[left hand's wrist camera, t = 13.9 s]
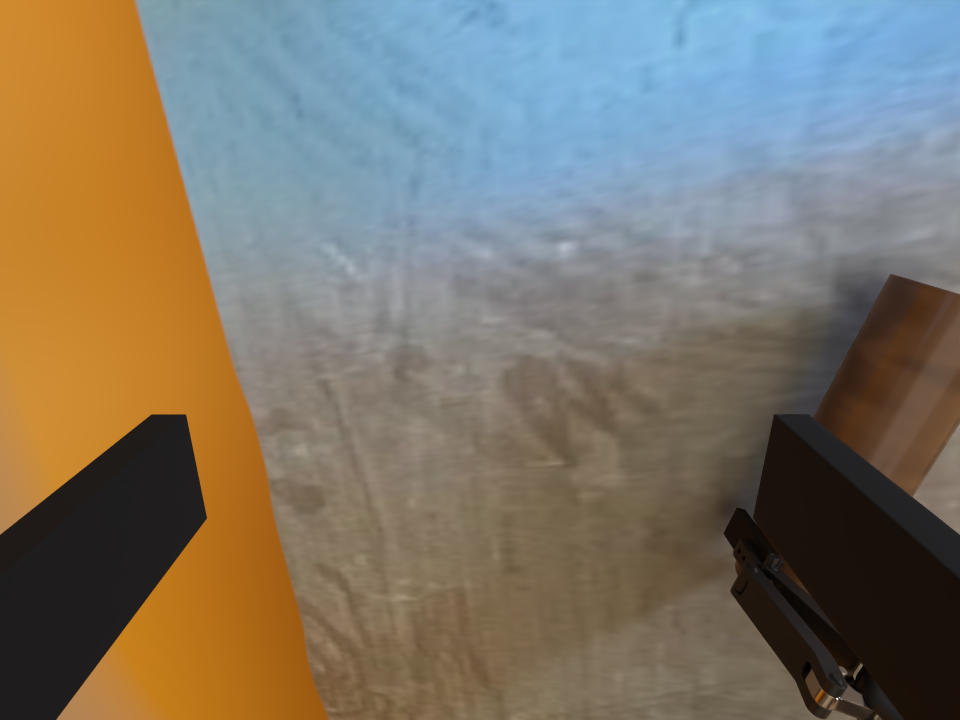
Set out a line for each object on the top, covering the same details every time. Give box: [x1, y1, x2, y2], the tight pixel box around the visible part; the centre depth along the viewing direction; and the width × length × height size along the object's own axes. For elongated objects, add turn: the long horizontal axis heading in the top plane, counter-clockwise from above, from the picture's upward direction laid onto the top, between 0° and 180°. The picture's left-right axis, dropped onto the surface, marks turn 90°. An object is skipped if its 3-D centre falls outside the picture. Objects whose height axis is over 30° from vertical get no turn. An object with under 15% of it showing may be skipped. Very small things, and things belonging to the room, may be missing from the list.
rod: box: [735, 274, 960, 597], centre depth 41 cm, size 26×8×8 cm, turn 165°
